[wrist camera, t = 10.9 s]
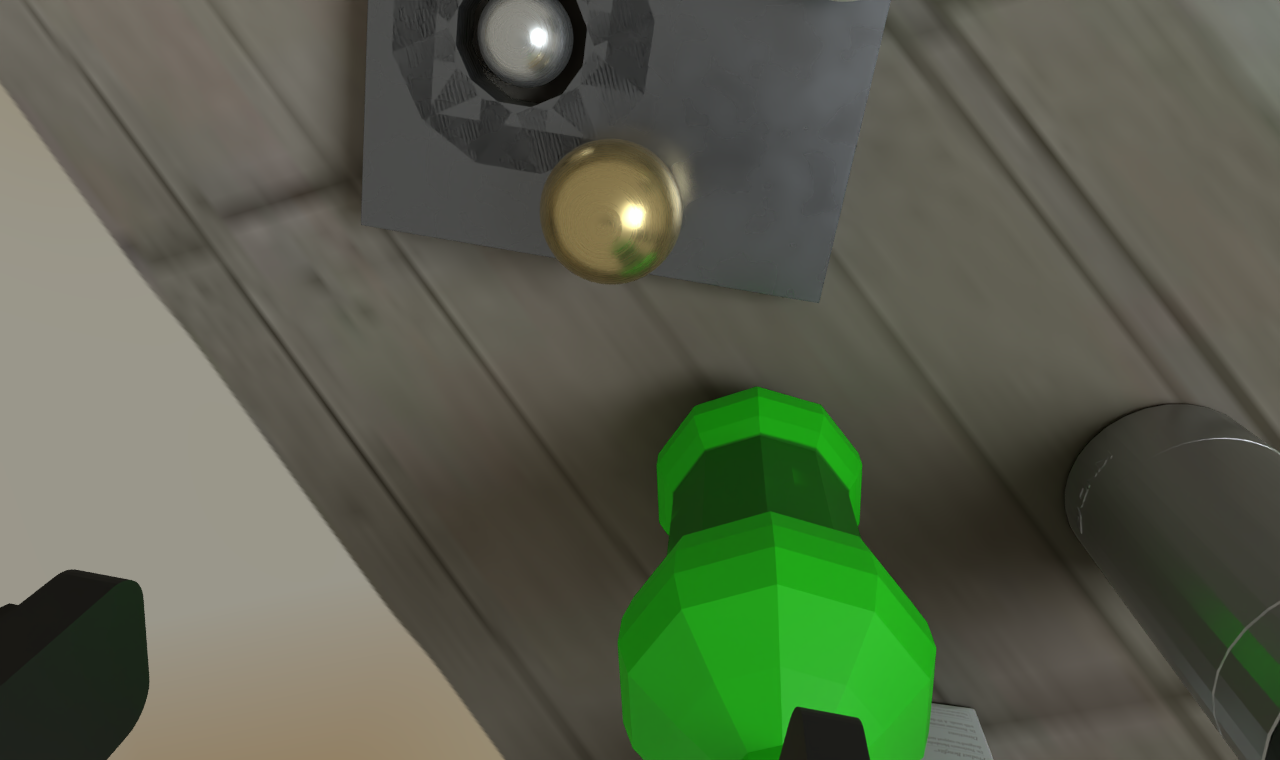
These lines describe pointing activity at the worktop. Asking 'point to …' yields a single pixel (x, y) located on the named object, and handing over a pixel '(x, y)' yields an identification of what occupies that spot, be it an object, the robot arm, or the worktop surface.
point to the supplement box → (955, 735)
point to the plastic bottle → (768, 595)
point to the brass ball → (611, 211)
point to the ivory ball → (844, 0)
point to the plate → (632, 127)
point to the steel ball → (525, 40)
